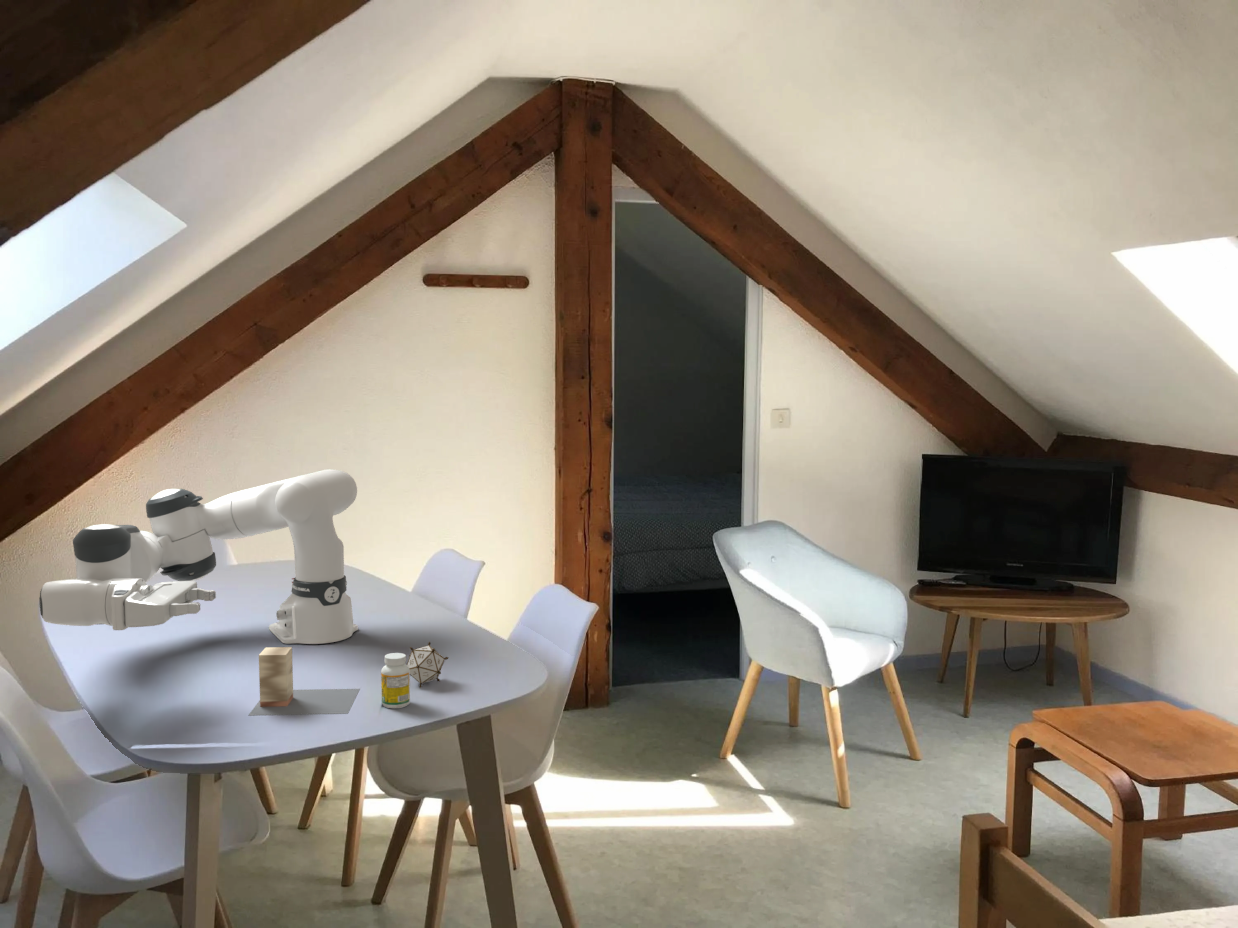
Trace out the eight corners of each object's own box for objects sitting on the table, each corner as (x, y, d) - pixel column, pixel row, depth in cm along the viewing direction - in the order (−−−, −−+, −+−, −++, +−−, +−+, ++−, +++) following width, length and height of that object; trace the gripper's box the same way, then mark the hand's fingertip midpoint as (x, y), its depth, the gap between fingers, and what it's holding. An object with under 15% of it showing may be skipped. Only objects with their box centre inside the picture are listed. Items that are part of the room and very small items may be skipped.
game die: (424, 697, 216) (434, 651, 221) (450, 691, 211) (459, 644, 216) (389, 684, 211) (400, 637, 216) (415, 677, 205) (425, 630, 210)
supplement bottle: (406, 709, 198) (406, 660, 197) (378, 708, 198) (377, 659, 197) (412, 699, 204) (412, 651, 203) (385, 699, 204) (384, 651, 203)
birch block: (260, 706, 197) (258, 655, 196) (266, 697, 202) (265, 647, 201) (287, 706, 197) (286, 654, 196) (293, 697, 202) (291, 647, 201)
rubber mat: (248, 718, 193) (248, 715, 192) (267, 693, 206) (267, 690, 206) (347, 716, 194) (347, 713, 194) (359, 691, 208) (359, 688, 208)
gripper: (151, 604, 206) (223, 604, 207) (110, 633, 186) (190, 632, 187) (150, 573, 205) (222, 572, 206) (108, 598, 185) (189, 598, 186)
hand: (207, 601), depth 196 cm, fingers open, 8 cm apart
